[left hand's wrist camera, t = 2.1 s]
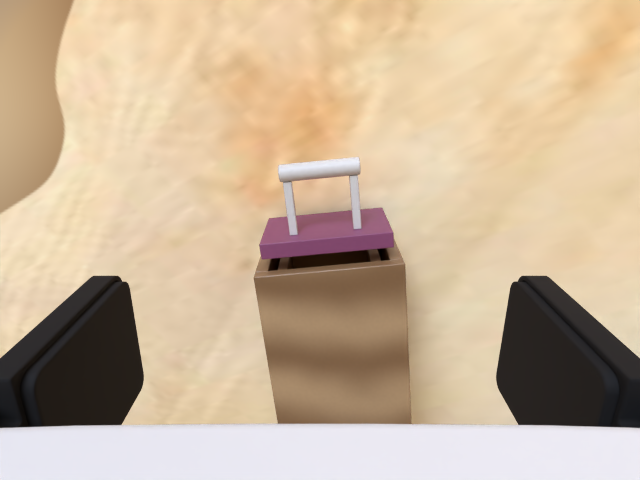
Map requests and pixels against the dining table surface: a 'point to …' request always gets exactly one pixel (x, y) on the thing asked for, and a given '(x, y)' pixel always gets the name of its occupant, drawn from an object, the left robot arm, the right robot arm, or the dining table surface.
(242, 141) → the dining table surface
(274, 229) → the drawer
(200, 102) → the dining table surface
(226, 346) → the dining table surface
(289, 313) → the tan storage bin
